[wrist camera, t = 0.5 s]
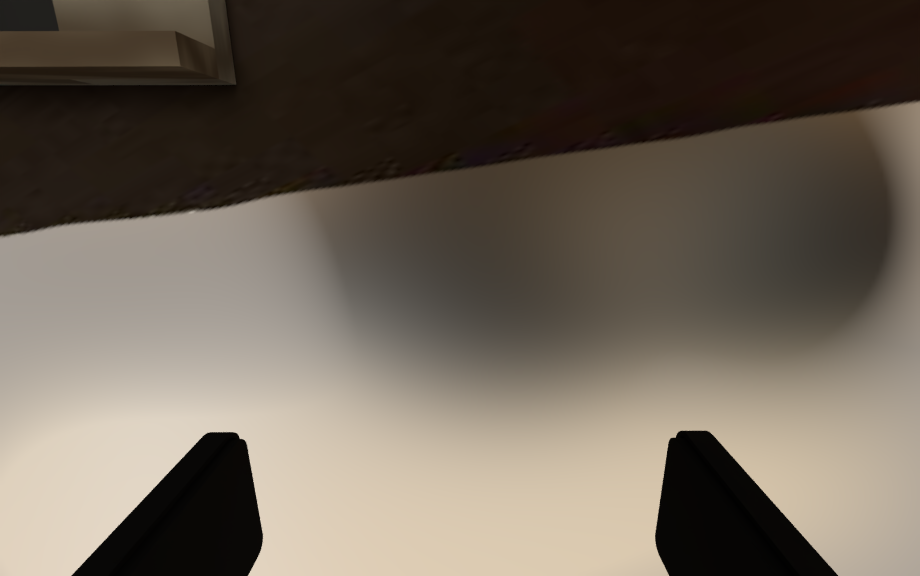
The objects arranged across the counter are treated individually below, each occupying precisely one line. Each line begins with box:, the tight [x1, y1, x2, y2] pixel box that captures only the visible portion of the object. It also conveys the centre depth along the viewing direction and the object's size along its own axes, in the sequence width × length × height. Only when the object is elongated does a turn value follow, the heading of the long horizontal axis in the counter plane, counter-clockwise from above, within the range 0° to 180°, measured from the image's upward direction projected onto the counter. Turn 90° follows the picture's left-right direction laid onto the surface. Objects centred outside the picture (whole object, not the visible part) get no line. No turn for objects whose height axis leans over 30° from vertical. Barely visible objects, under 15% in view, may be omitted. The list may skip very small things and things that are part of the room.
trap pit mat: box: [0, 0, 59, 31], centre depth 33 cm, size 7×7×1 cm
